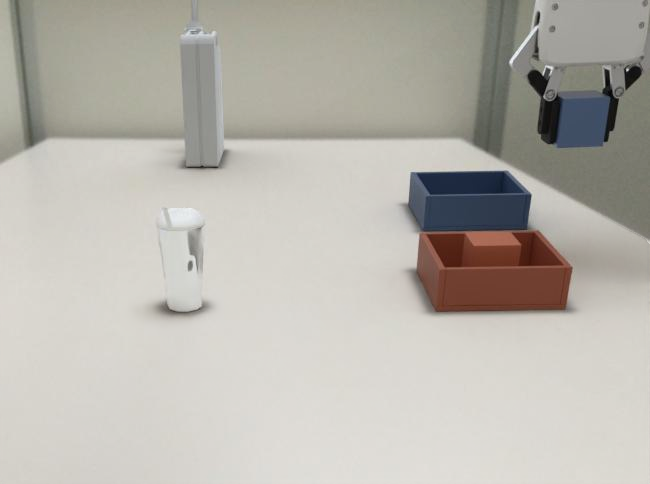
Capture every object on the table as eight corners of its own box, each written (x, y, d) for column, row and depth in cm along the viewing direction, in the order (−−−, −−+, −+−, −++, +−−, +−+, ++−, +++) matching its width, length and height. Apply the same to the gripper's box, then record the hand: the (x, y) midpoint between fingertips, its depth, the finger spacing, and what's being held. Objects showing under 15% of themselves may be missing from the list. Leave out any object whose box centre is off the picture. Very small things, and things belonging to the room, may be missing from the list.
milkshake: (149, 314, 91) (141, 205, 86) (173, 296, 96) (167, 191, 90) (192, 319, 90) (187, 209, 85) (215, 301, 94) (212, 195, 89)
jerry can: (194, 146, 156) (186, -33, 143) (225, 146, 156) (220, -34, 142) (184, 167, 144) (174, -27, 130) (217, 167, 143) (211, -28, 130)
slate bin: (503, 203, 124) (507, 170, 121) (527, 229, 113) (532, 194, 111) (408, 204, 124) (410, 172, 122) (423, 231, 113) (425, 196, 111)
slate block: (589, 137, 99) (596, 89, 97) (602, 146, 96) (610, 97, 93) (545, 139, 99) (551, 91, 97) (557, 148, 96) (563, 98, 93)
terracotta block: (504, 276, 98) (510, 231, 95) (515, 291, 94) (521, 244, 91) (460, 277, 98) (464, 232, 95) (468, 292, 94) (474, 245, 91)
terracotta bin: (533, 268, 101) (538, 230, 99) (565, 309, 91) (572, 267, 89) (416, 270, 101) (419, 232, 99) (435, 311, 91) (439, 269, 89)
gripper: (681, -79, 90) (644, 130, 100) (500, -71, 91) (481, 137, 101) (714, -78, 84) (672, 144, 94) (519, -69, 84) (498, 152, 94)
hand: (574, 138), depth 97 cm, fingers closed on slate block, 4 cm apart
